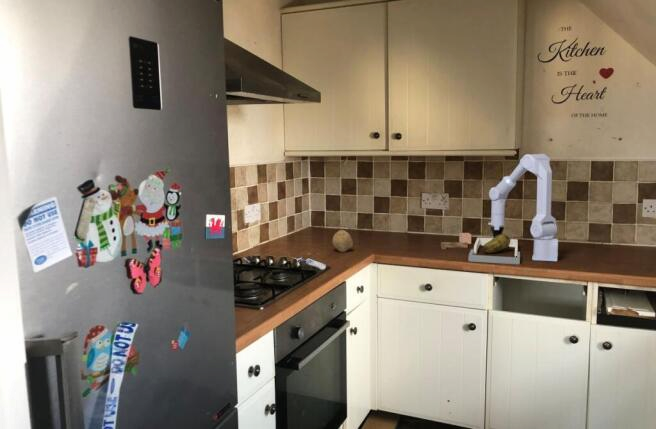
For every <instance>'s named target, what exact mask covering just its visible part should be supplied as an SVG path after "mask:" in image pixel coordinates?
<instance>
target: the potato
mask: <svg viewBox="0 0 656 429" xmlns="http://www.w3.org/2000/svg"><path fill="white" fill-rule="evenodd" d="M492 238H493V239H492V240H491V241H489V242H487V243H486V244H484V245H482V251H483V252H484V253H485V254H494V253H497V252H500V251H502V250H503V249H506V248H509V244H510V239H511V238H510V237H509V235H507V234H503V233H502V234H500V235H498V236H496V237H492Z"/></svg>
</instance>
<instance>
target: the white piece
mask: <svg viewBox="0 0 656 429" xmlns="http://www.w3.org/2000/svg"><path fill="white" fill-rule="evenodd" d="M493 238H494V237H477V238H476V240H475V243H474V246H473V249H474V255H477V253H478V250H479V248H480V246H484V244H486V243H487V242H489V241H491V240H492V239H493ZM518 242H519V240H518V239H517V238H515V239H514V238H510V244H509V247H510V248H514V257H516V256H517V252H518V250H519V249H518V245H519V244H518ZM509 247H508V248H509Z"/></svg>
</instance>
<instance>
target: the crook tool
mask: <svg viewBox="0 0 656 429" xmlns="http://www.w3.org/2000/svg"><path fill="white" fill-rule="evenodd" d="M468 246H469V244H468V243H467V242H457V241H454V242H452V241H451V242H450V241H444V242H443V241H442V242H441V241H440V247H441V250H447V248H466V249H467V248H468Z"/></svg>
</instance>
